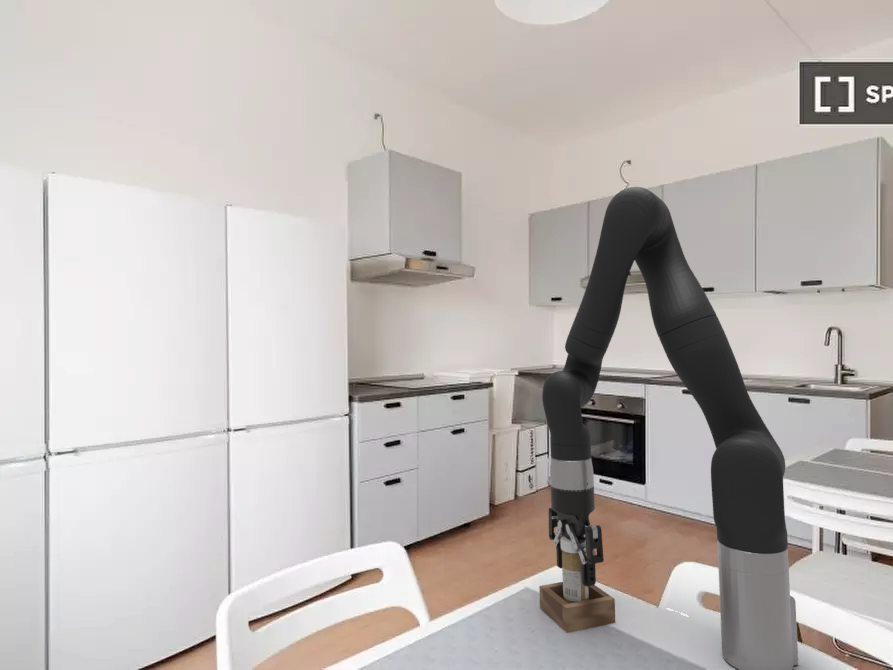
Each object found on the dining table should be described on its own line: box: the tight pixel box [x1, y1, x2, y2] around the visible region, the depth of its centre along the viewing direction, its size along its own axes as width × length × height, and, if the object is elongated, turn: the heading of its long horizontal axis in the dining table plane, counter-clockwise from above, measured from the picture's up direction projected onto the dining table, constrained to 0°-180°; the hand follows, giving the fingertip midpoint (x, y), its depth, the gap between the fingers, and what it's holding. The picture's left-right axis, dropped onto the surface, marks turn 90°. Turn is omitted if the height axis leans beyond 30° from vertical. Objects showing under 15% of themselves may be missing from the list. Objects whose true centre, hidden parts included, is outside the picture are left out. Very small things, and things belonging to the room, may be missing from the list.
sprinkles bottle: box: [561, 536, 589, 604], centre depth 98 cm, size 5×5×14 cm
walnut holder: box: [539, 581, 616, 633], centre depth 98 cm, size 9×9×4 cm
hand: (575, 575), depth 98 cm, fingers open, 8 cm apart
